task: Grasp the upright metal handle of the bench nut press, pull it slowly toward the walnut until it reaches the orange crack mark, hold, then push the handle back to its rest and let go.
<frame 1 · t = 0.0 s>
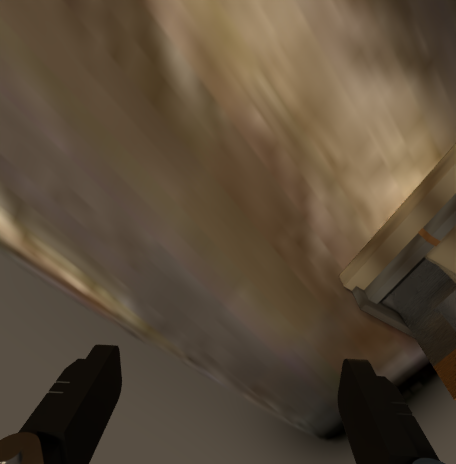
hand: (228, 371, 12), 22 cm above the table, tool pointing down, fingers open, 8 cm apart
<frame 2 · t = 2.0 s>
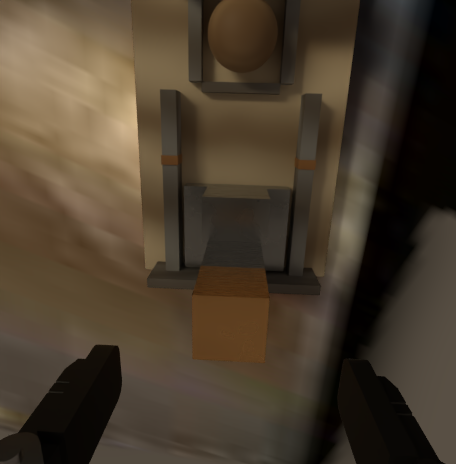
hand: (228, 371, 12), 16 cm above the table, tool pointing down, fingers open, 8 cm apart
walnut: (242, 42, 21), point 2 cm above the table, touching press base
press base: (239, 125, 24), on the table
lever: (233, 253, 19), point 8 cm above the table, slide at 0.0 cm
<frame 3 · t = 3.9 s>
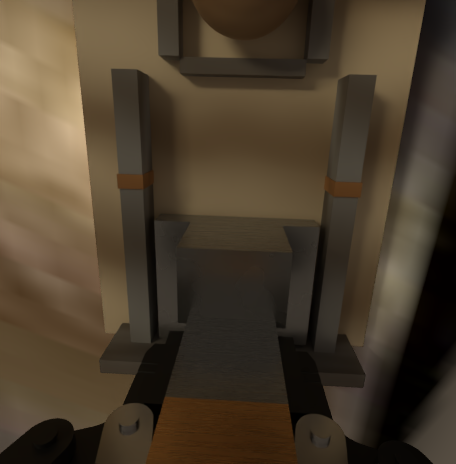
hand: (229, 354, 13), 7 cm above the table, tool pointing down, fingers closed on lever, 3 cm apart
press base: (240, 127, 16), on the table
lever: (230, 346, 11), point 8 cm above the table, slide at 0.0 cm, touching gripper
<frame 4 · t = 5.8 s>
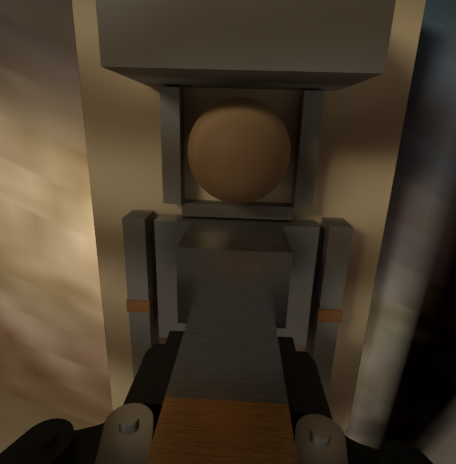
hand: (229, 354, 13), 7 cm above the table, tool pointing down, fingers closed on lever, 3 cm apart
walnut: (239, 148, 15), point 2 cm above the table, touching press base
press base: (236, 239, 18), on the table
lever: (230, 346, 11), point 8 cm above the table, slide at 5.9 cm, touching gripper
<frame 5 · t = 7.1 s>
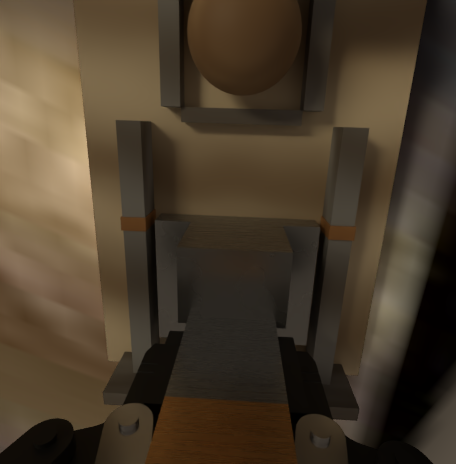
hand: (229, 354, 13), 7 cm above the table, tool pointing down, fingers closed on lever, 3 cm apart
walnut: (244, 47, 14), point 2 cm above the table, touching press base
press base: (239, 165, 17), on the table
lever: (230, 346, 11), point 8 cm above the table, slide at 1.9 cm, touching gripper
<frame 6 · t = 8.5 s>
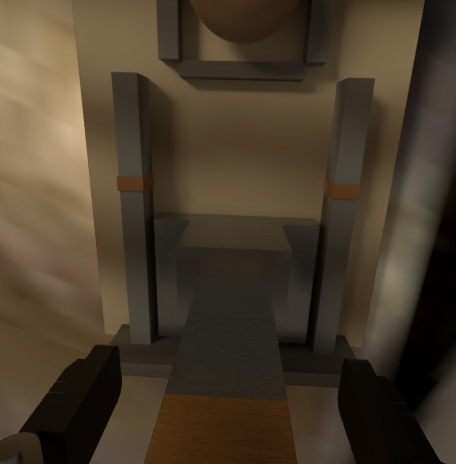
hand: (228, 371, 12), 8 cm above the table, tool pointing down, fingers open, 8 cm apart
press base: (240, 129, 17), on the table
lever: (229, 344, 11), point 8 cm above the table, slide at 0.2 cm
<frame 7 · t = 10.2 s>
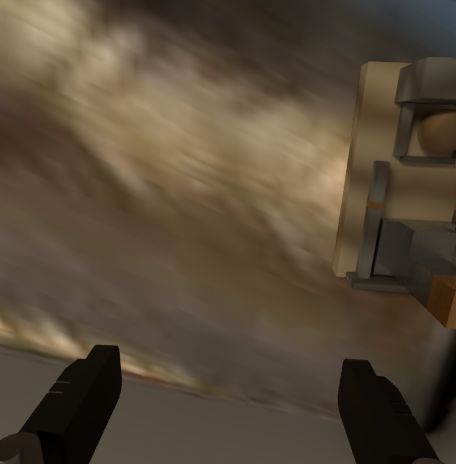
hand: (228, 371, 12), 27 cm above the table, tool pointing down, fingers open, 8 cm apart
walnut: (430, 131, 32), point 2 cm above the table, touching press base
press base: (411, 179, 36), on the table
lever: (436, 266, 30), point 8 cm above the table, slide at 0.2 cm
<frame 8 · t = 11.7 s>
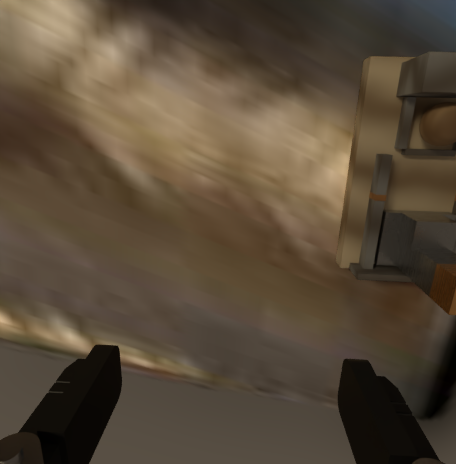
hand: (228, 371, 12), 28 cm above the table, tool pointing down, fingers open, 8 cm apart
walnut: (431, 124, 33), point 2 cm above the table, touching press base
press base: (412, 172, 37), on the table
lever: (438, 256, 31), point 8 cm above the table, slide at 0.2 cm
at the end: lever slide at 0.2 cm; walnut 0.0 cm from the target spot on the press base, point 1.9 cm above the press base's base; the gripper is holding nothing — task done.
